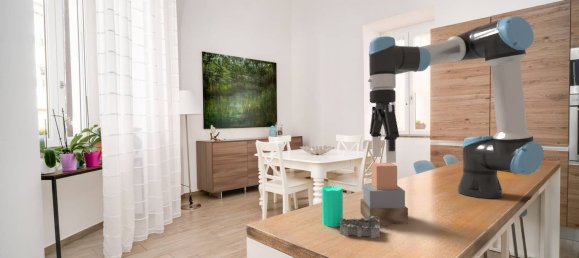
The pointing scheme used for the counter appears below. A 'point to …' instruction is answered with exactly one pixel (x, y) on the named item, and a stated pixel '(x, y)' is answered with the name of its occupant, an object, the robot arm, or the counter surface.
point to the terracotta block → (384, 176)
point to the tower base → (385, 214)
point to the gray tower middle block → (383, 197)
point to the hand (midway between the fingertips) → (383, 159)
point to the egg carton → (360, 227)
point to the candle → (332, 205)
